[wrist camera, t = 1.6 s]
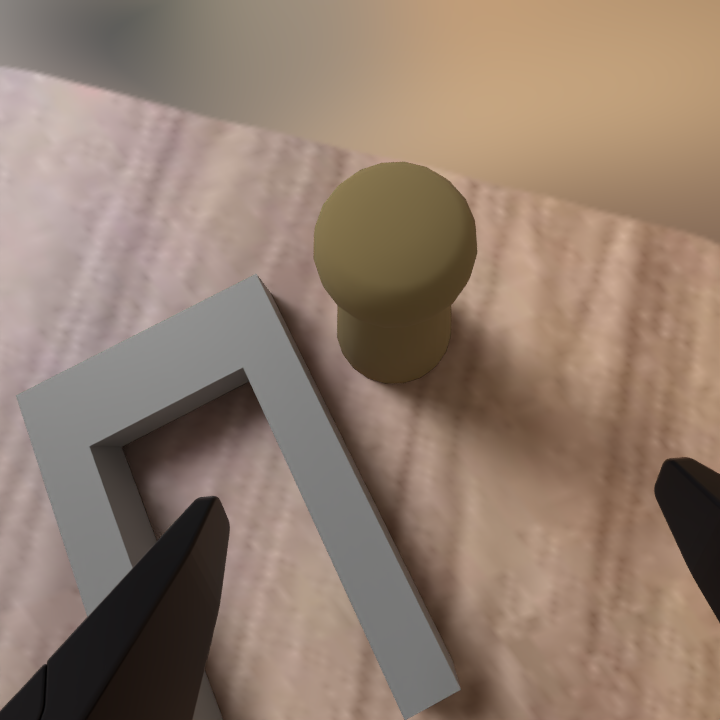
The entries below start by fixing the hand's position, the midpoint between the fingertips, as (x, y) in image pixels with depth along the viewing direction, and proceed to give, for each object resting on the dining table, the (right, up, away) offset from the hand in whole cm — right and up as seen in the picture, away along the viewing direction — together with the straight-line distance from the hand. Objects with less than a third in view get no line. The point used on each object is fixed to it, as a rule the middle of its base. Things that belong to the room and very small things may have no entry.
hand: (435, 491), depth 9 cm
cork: (0, +4, +14) cm, 15 cm away
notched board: (-8, -5, +13) cm, 16 cm away
